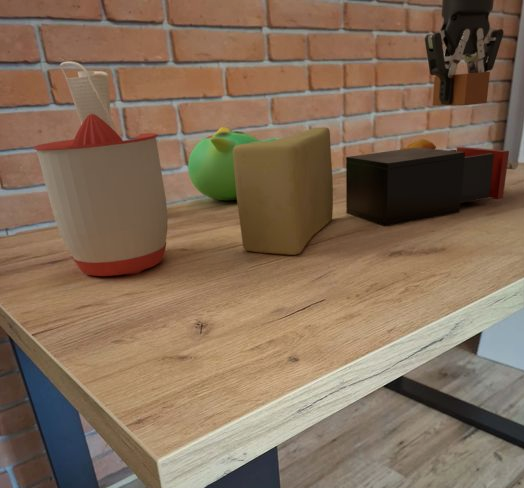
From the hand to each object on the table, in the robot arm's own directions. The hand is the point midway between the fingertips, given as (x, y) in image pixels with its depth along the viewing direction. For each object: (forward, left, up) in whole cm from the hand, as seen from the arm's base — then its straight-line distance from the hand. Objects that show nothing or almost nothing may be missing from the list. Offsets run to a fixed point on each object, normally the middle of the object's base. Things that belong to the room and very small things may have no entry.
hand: (458, 102), depth 86 cm
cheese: (+30, +12, -17) cm, 36 cm away
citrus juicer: (+57, +18, -17) cm, 62 cm away
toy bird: (+39, -24, -17) cm, 49 cm away
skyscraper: (+63, -13, -17) cm, 66 cm away
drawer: (-2, 0, -16) cm, 16 cm away
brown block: (0, 0, 0) cm, 0 cm away
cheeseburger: (-2, -22, -17) cm, 28 cm away
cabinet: (+11, +4, -17) cm, 20 cm away
